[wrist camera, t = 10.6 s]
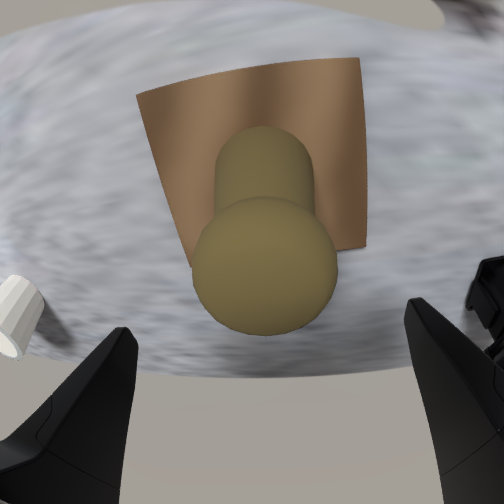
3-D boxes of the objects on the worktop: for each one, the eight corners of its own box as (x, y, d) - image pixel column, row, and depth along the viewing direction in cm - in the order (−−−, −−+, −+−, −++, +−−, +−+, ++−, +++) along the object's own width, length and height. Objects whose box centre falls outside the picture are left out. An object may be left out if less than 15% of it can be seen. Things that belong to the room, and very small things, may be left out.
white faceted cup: (59, 310, 29) (33, 360, 24) (29, 319, 31) (5, 362, 25) (20, 263, 26) (-15, 310, 20) (-5, 278, 27) (-35, 320, 22)
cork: (331, 182, 19) (387, 311, 10) (256, 232, 21) (251, 375, 12) (272, 105, 16) (286, 175, 7) (194, 167, 19) (133, 289, 10)
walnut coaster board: (354, 57, 15) (359, 58, 14) (362, 239, 23) (366, 246, 22) (141, 92, 17) (135, 94, 16) (192, 259, 24) (190, 267, 23)
